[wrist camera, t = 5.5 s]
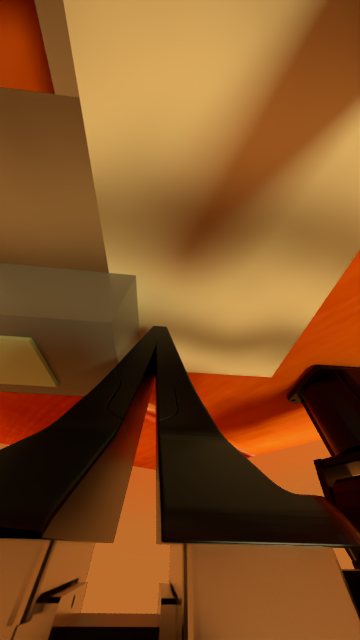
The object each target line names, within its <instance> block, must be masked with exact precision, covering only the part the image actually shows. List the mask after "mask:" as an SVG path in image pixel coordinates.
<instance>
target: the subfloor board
mask: <svg viewBox="0 0 360 640" xmlns="http://www.w3.org/2000/svg"><path fill="white" fill-rule="evenodd" d="M34 1H35V6H36V10H37V15H38V19H39V24H40V28H41V33H42V37H43V42H44V46H45V51H46V55H47V60H48V64H49V69H50V73H51V78H52V82H53V87H54V91H55V94H49V93H42V92H34V91H27V90H19V89H11V88H4V87H0V263H6V264H17V265H28V266H39V267H50V268H61V269H72V270H83V271H94V272H105V273H116V274H127V275H136V287H137V302H138V317H139V333H140V339H141V338H142V337H143V336H144V335H145V334H146V333H147V332H148V331H149V330H150V329H151V328H152V326H166V327H167V328H168V330H169V333H170V335H171V337H172V340H173V342H174V344H175V346H176V349H177V351H178V353H179V356H180V358H181V360H182V362H183V365H184V367H185V369H186V372H196V373H212V374H228V375H244V376H260V377H272V376H273V374H274V373H275V371H276V370H277V368H278V367H279V366H280V364H281V363H282V361H283V360H284V358H285V357H286V355H287V354H288V352H289V351H290V350H291V348H292V347H293V345H294V344H295V342H296V341H297V339H298V338H299V337H300V335H301V334H302V332H303V331H304V329H305V328H306V326H307V325H308V324H309V322H310V321H311V319H312V318H313V316H314V315H315V313H316V312H317V311H318V309H319V308H320V306H321V305H322V303H323V302H324V300H325V299H326V298H327V296H328V295H329V293H330V292H331V290H332V289H333V287H334V286H335V284H336V283H337V282H338V280H339V279H340V277H341V276H342V274H343V273H344V271H345V270H346V269H347V267H348V266H349V264H350V263H351V261H352V260H353V258H354V257H355V256H356V254H357V253H358V251H359V250H360V0H34Z"/></svg>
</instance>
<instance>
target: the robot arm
mask: <svg viewBox="0 0 360 640" xmlns="http://www.w3.org/2000/svg"><path fill="white" fill-rule="evenodd" d="M154 379H155V383H156V522H157V523H156V526H157V527H156V528H157V529H156V532H157V533H156V536H157V537H156V543H157V544H170V566H169V584H163V583H160V584H159V593H158V608H157V614H106V613H102V614H101V613H97V614H96V613H81V609H82V605H83V601H84V597H85V593H86V588H87V582H86V579H87V575H88V571H89V566H90V562H91V558H92V554H93V550H94V546H95V543H96V542H97V543H113V542H114V538H115V534H116V530H117V526H118V522H119V518H120V514H121V510H122V506H123V502H124V498H125V494H126V490H127V487H128V483H129V479H130V475H131V471H132V467H133V461H134V458H135V454H136V450H137V446H138V442H139V438H140V434H141V430H142V426H143V423H144V419H145V415H146V411H147V407H148V403H149V399H150V395H151V391H152V387H153V383H154ZM287 399H288V401H289V402H291V403H302V404H303V406H304V408H305V409H306V411H307V413H308V415H309V417H310V418H311V420H312V422H313V424H314V426H315V427H316V429H317V431H318V433H319V435H320V437H321V438H322V440H323V442H324V444H325V445H326V447H327V449H328V451H329V453H330V455H331V456H332V457H329V458H325V459H317V460H314V464H315V467H316V470H317V475H318V478H319V481H320V484H321V486H322V490H323V493H324V496H325V497H322V496H316V495H299V494H294V493H291V492H288V491H286V490H284V489H282V488H281V487H279V486H278V485H276V484H275V483H274V482H272V481H271V480H270V479H269V478H268V477H267V476H266V475H265V474H263V473H262V472H261V471H260V470H259V469H258V468H257V467H256V466H255V465H253V464H252V463H251V462H250V461H249V460H248V459H247V458H246V457H245V456H244V455H243V454H241V453H240V452H239V451H238V450H237V449H236V448H235V447H234V446H233V445H232V444H231V443H229V442H228V440H227V439H226V438H225V437H224V436H223V435H222V433H221V432H220V430H219V429H218V427H217V426H216V424H215V423H214V421H213V419H212V418H211V416H210V414H209V413H208V411H207V409H206V408H205V406H204V404H203V403H202V401H201V400H200V398H199V396H198V394H197V392H196V391H195V389H194V387H193V385H192V383H191V380H190V378H189V376H188V374H187V372H186V369H185V367H184V365H183V362H182V360H181V358H180V356H179V353H178V351H177V349H176V346H175V344H174V342H173V340H172V337H171V335H170V333H169V330H168V328H167V327H166V326H152V328H151V329H150V330H149V331H148V332H147V333H146V334H145V335H144V336H143V337H142V338H141V339H140V340H139V341H138V343H137V344H136V345H135V346H134V347H133V348H132V349H131V350H130V351H129V352H128V353H127V354H126V355H125V357H124V358H123V359H122V360H121V361H120V362H119V363H118V364H117V365H116V366H115V367H114V368H113V369H112V370H111V371H110V373H109V374H108V375H107V376H106V377H105V378H104V379H103V380H102V381H101V382H100V383H99V384H98V385H97V386H95V387H94V388H93V389H92V390H91V391H90V392H89V393H88V394H87V395H86V396H84V397H83V398H82V399H81V400H80V401H79V402H78V403H76V404H75V405H74V406H73V407H72V408H71V409H70V410H68V411H67V412H66V413H65V414H64V415H63V416H62V417H60V418H59V419H58V420H57V421H55V422H54V423H53V424H51V425H50V426H48V427H47V428H45V429H43V430H42V431H40V432H38V433H36V434H33V435H31V436H29V437H27V438H25V439H23V440H20V441H18V442H16V443H14V444H12V445H9V446H7V447H5V448H3V449H1V450H0V640H360V475H358V476H353V475H357V474H360V368H357V367H342V366H327V365H318V366H315V367H314V368H313V369H312V370H311V371H310V372H309V373H308V374H307V375H306V377H305V378H304V379H303V380H302V381H301V382H300V383H299V384H298V386H297V387H296V388H295V389H294V390H293V391H292V392H291V393H290V395H289V396H288V397H287ZM333 548H345V550H346V551H347V553H348V555H349V556H350V558H351V560H352V563H353V566H354V568H355V569H341V567H340V565H339V563H338V560H337V558H336V555H335V553H334V550H333Z"/></svg>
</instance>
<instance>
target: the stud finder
mask: <svg viewBox="0 0 360 640" xmlns="http://www.w3.org/2000/svg"><path fill="white" fill-rule="evenodd" d="M139 340H140V333H139V317H138V302H137V287H136V275H127V274H116V273H105V272H94V271H83V270H72V269H61V268H50V267H39V266H28V265H17V264H6V263H0V392H15V393H33V394H51V395H69V396H86V395H87V394H88V393H89V392H90V391H91V390H92V389H93V388H94V387H95V386H97V385H98V384H99V383H100V382H101V381H102V380H103V379H104V378H105V377H106V376H107V375H108V374H109V373H110V371H111V370H112V369H113V368H114V367H115V366H116V365H117V364H118V363H119V362H120V361H121V360H122V359H123V358H124V357H125V355H126V354H127V353H128V352H129V351H130V350H131V349H132V348H133V347H134V346H135V345H136V344H137V343H138V341H139Z"/></svg>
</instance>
